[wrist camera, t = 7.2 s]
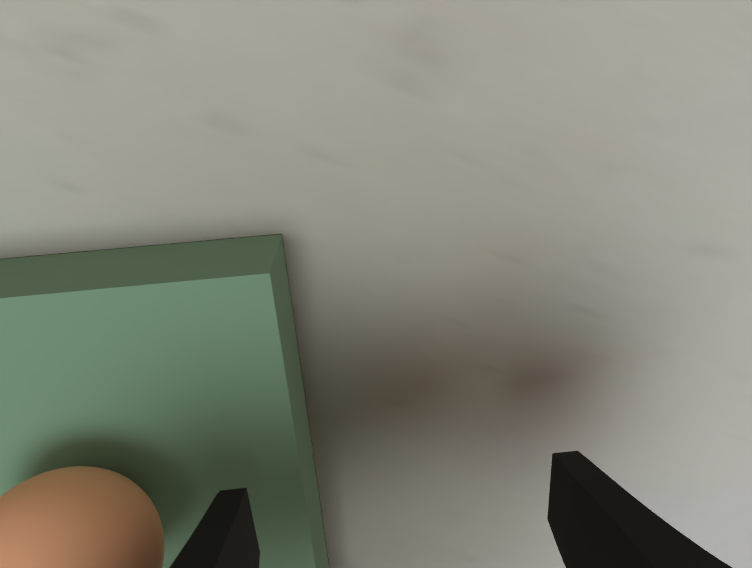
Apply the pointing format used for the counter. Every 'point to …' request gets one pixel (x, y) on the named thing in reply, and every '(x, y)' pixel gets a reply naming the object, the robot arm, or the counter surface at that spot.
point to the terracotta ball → (79, 522)
